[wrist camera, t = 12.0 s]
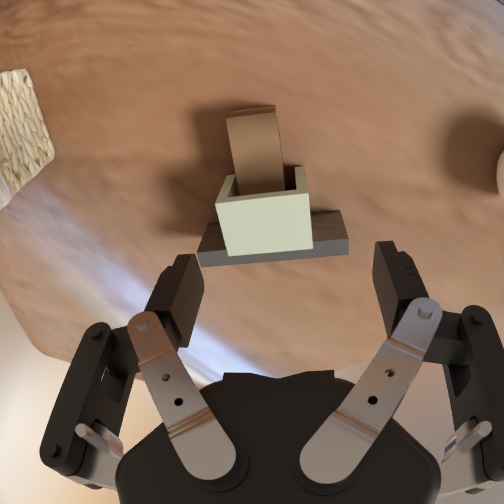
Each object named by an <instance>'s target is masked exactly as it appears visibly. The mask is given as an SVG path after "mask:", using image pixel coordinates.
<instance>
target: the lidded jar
mask: <svg viewBox="0 0 504 504" xmlns="http://www.w3.org/2000/svg"><path fill="white" fill-rule="evenodd" d="M496 181H497V187H498V191H499V194H500V197H501V199H502V201H503V203H504V151H503V152H502V153H501V155H500V157H499V159H498V163H497V174H496Z"/></svg>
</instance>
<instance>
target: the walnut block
mask: <svg viewBox="0 0 504 504" xmlns="http://www.w3.org/2000/svg"><path fill="white" fill-rule="evenodd" d="M226 124H227V130H228V135H229V141H230V146H231V152H232V157H233V163H234V168H235V174H236V179H237V185H238V190H239V195H240V196H244V195H253V194H261V193H270V192H279V191H286V186H285V177H284V168H283V159H282V151H281V142H280V134H279V126H278V119H277V111H276V105H274V106H264V107H256V108H248V109H240V110H233V111H232V112H231V113H230V114H229V115H228V116H227V117H226Z"/></svg>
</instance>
